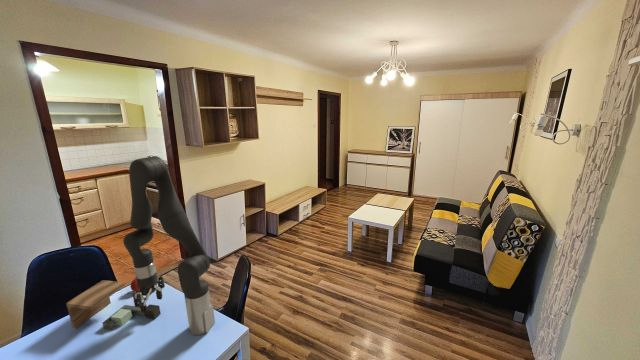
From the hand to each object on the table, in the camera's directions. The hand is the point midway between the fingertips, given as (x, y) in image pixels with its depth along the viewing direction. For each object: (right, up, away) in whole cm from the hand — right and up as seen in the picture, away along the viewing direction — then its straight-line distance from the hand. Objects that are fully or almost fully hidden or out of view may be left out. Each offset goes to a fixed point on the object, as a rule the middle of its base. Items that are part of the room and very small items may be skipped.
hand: (152, 305), depth 118 cm
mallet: (-8, -6, -1) cm, 10 cm away
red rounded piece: (-19, -2, +18) cm, 26 cm away
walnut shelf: (-23, -6, +1) cm, 24 cm away
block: (-12, -6, -1) cm, 14 cm away
